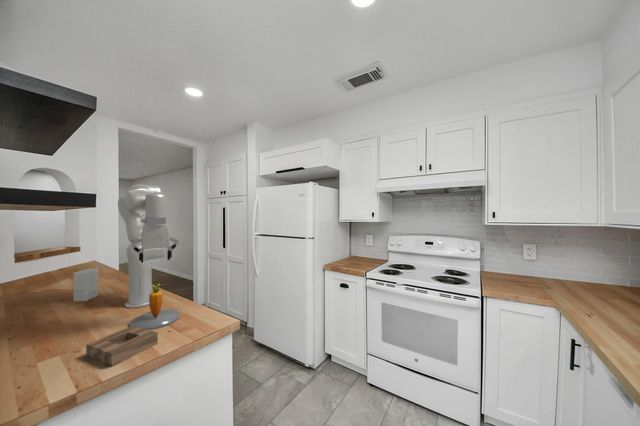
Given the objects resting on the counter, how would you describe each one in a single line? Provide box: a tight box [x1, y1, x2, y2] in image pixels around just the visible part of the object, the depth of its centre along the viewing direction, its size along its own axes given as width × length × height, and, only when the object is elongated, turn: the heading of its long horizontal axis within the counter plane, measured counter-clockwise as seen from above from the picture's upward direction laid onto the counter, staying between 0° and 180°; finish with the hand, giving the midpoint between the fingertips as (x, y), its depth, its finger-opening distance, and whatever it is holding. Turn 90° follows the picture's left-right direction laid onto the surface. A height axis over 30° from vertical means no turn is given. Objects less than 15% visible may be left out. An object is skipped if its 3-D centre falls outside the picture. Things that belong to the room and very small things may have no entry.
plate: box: [129, 309, 181, 331], centre depth 104 cm, size 18×18×1 cm
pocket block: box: [85, 326, 159, 368], centre depth 82 cm, size 14×14×4 cm
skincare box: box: [73, 268, 99, 302], centre depth 130 cm, size 8×7×16 cm
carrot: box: [149, 283, 163, 318], centre depth 105 cm, size 5×5×15 cm
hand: (155, 260), depth 104 cm, fingers open, 9 cm apart
